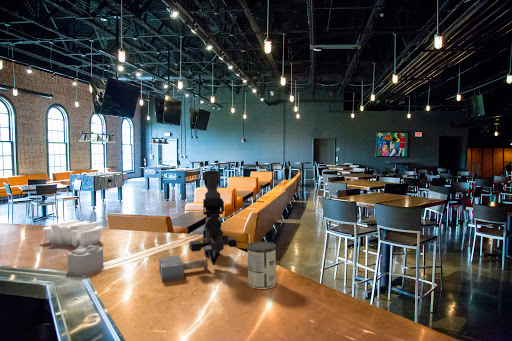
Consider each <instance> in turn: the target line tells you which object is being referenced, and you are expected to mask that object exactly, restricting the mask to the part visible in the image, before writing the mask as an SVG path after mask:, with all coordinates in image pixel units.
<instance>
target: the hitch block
mask: <svg viewBox="0 0 512 341" xmlns="http://www.w3.org/2000/svg"><path fill="white" fill-rule="evenodd" d="M183 262H184V261H182V258H181V256H180V255H172V256H164V257H162V256H161V257H158V271H159V272H158V273H159V276H160V280H161V282H168V281H174V280H176V281H177V280H182V279H185V270H184V264H183Z"/></svg>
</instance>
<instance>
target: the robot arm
mask: <svg viewBox="0 0 512 341" xmlns="http://www.w3.org/2000/svg"><path fill="white" fill-rule="evenodd" d="M220 181H221V172H220V171H218V170H214V169H213V170H211V169H210V170H209V169H208V170H205V171H202V182H203V184H204V185H203V186H204V187H205V188H206V190H207V192H205V193H204V198H203V199H202V201H203V204H202V205H203V208H202V211H203V212H202V213H203V215H204V216H205V225H204V229H203V230H202V235H203V236H202V237H203V238H202V242H201V241H200V240H193V241H190V242H189V244H188V249H189V250H190V251H191V252H192V253H193V252H200V251H201V250H202V249H203V253H204V255H205V256H206V258H209V259H210V261H211V264H212V266H215V265H216V263H217V259H218V256H221V254H222V253H221V251H223V250H224V249H225V248H224V247H225V246H228V247H229V248H234V247H237V246H238V241H237V239H236V238H234V237H233V236H228V234H227V235H224V231H222V222H221V215H223V214H224V212H225V204H224V203H225V202H224V200H223V198H221V193H220V192H219V191H218V186H219V184H220Z"/></svg>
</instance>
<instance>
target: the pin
mask: <svg viewBox="0 0 512 341" xmlns="http://www.w3.org/2000/svg"><path fill="white" fill-rule="evenodd" d="M182 262H183V264H184V271H187V270H194V269H200V268H203V269H204V270H208V267H209V262H208V257H207V256H206V257H205V256H204V257H203V258H202V259H200V260H199V259H197V260H189V261H182Z"/></svg>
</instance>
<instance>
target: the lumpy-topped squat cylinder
mask: <svg viewBox="0 0 512 341" xmlns="http://www.w3.org/2000/svg"><path fill="white" fill-rule="evenodd" d="M103 266H104V248H103V247H102V246H98V245H95V244H94V245H89V246H88V247H83V246H80V245H79V246H77V247H76V249H73V250H72V251H70V252H68V253H67V273H69V274H71V273H72V274H75V275H82V274H81V273H85V274H88V273H91V272H94V271H96V269H97V270H98V268H99V269H101V268H102V267H103ZM100 267H101V268H100ZM93 270H94V271H93ZM90 271H91V272H90ZM87 272H88V273H87Z"/></svg>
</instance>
